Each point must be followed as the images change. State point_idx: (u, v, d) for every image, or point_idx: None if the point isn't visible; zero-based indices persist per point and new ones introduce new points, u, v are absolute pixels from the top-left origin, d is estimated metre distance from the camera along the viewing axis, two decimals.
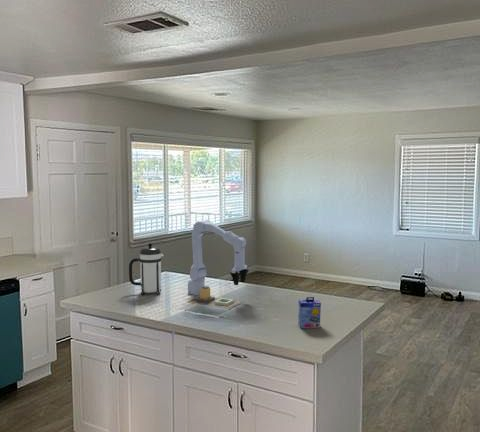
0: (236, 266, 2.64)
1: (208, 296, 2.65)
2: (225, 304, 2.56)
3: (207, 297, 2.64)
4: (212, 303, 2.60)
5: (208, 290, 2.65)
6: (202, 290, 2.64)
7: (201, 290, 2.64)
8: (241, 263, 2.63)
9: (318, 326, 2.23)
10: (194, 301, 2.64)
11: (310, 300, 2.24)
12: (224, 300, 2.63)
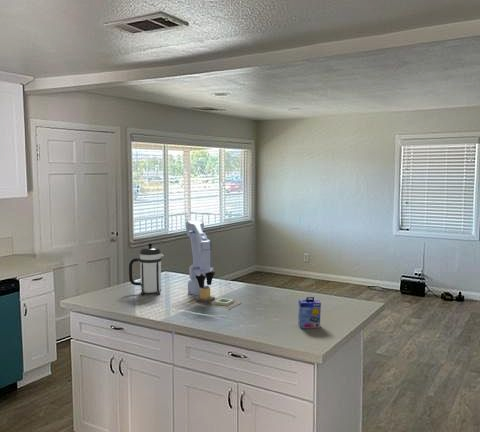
0: (201, 269, 2.62)
1: (208, 296, 2.65)
2: (225, 304, 2.56)
3: (207, 297, 2.64)
4: (212, 303, 2.60)
5: (208, 290, 2.65)
6: (202, 290, 2.64)
7: (201, 290, 2.64)
8: (207, 266, 2.62)
9: (318, 326, 2.23)
10: (194, 301, 2.64)
11: (310, 300, 2.24)
12: (224, 300, 2.63)
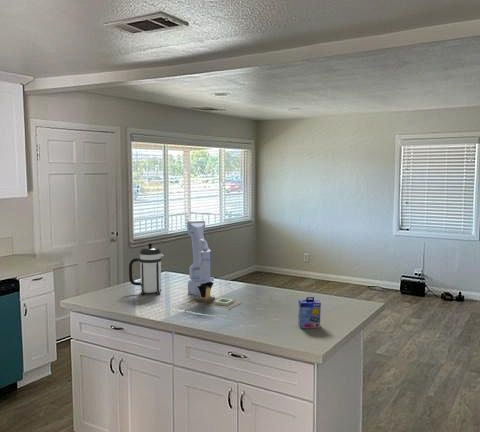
0: (201, 279, 2.63)
1: (208, 296, 2.65)
2: (225, 304, 2.56)
3: (207, 297, 2.64)
4: (212, 303, 2.60)
5: (208, 290, 2.65)
6: None
7: None
8: (207, 276, 2.62)
9: (318, 326, 2.23)
10: (194, 301, 2.64)
11: (310, 300, 2.24)
12: (224, 300, 2.63)
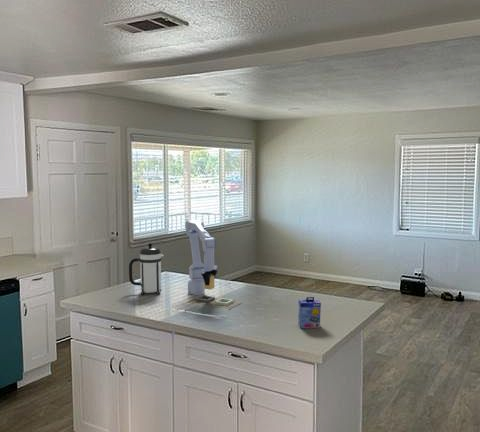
0: (205, 266, 2.61)
1: (212, 284, 2.63)
2: (225, 304, 2.56)
3: (211, 285, 2.62)
4: (212, 303, 2.60)
5: (212, 278, 2.63)
6: None
7: None
8: (211, 264, 2.60)
9: (318, 326, 2.23)
10: (194, 301, 2.64)
11: (310, 300, 2.24)
12: (224, 300, 2.63)
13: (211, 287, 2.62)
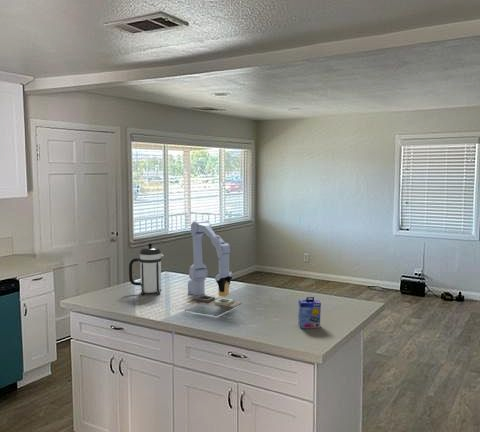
0: (220, 273, 2.57)
1: (226, 291, 2.59)
2: (225, 304, 2.56)
3: (225, 292, 2.58)
4: (212, 303, 2.60)
5: (226, 285, 2.59)
6: None
7: None
8: (225, 270, 2.56)
9: (318, 326, 2.23)
10: (194, 301, 2.64)
11: (310, 300, 2.24)
12: (224, 300, 2.63)
13: (225, 294, 2.58)
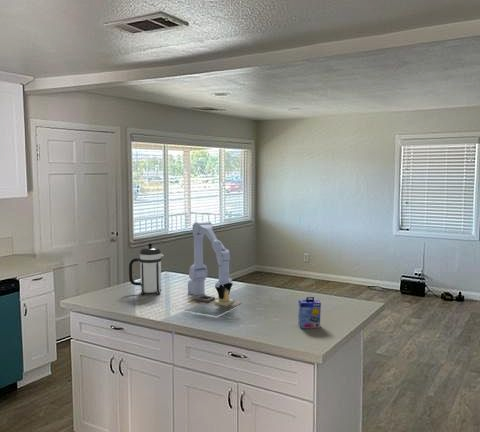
0: (220, 280, 2.57)
1: (226, 299, 2.59)
2: (225, 304, 2.56)
3: (225, 300, 2.59)
4: (212, 303, 2.60)
5: (226, 293, 2.59)
6: None
7: None
8: (226, 277, 2.56)
9: (318, 326, 2.23)
10: (194, 301, 2.64)
11: (310, 300, 2.24)
12: None
13: None
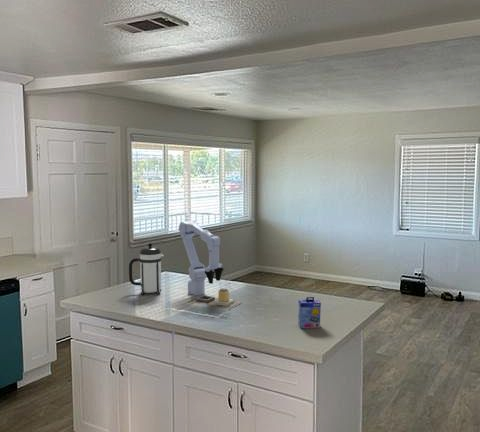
0: (210, 265, 2.66)
1: (226, 299, 2.59)
2: (225, 304, 2.56)
3: (225, 300, 2.59)
4: (212, 303, 2.60)
5: (226, 293, 2.59)
6: (220, 293, 2.58)
7: (219, 293, 2.59)
8: (216, 262, 2.66)
9: (318, 326, 2.23)
10: (194, 301, 2.64)
11: (310, 300, 2.24)
12: None
13: None
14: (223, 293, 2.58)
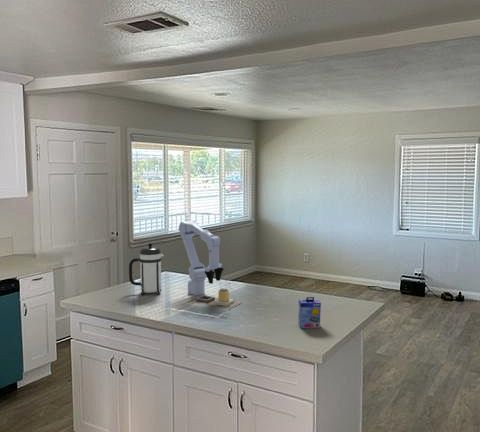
0: (210, 265, 2.66)
1: (226, 299, 2.59)
2: (225, 304, 2.56)
3: (225, 300, 2.59)
4: (212, 303, 2.60)
5: (226, 293, 2.59)
6: (220, 293, 2.58)
7: (219, 293, 2.59)
8: (216, 262, 2.66)
9: (318, 326, 2.23)
10: (194, 301, 2.64)
11: (310, 300, 2.24)
12: None
13: None
14: (223, 293, 2.58)
